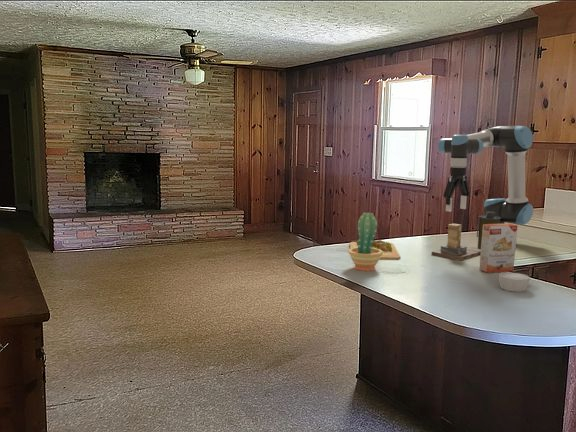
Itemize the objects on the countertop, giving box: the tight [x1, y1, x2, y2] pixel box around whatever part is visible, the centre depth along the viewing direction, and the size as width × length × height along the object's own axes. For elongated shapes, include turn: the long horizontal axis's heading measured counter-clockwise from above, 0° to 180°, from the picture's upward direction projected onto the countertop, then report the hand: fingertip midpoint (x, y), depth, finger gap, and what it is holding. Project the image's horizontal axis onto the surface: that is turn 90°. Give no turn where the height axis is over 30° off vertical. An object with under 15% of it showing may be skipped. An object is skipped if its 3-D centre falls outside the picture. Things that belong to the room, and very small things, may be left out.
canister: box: [476, 212, 501, 249], centre depth 278 cm, size 11×10×20 cm
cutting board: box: [349, 239, 401, 261], centre depth 274 cm, size 35×23×8 cm
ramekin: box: [498, 272, 531, 293], centre depth 210 cm, size 11×11×5 cm
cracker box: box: [478, 222, 518, 274], centre depth 236 cm, size 14×6×21 cm, turn 105°
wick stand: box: [431, 244, 481, 261], centre depth 270 cm, size 24×16×4 cm, turn 133°
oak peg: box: [446, 223, 462, 248], centre depth 265 cm, size 4×4×14 cm
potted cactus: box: [347, 212, 383, 272], centre depth 239 cm, size 15×15×25 cm
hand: (455, 210), depth 263 cm, fingers open, 13 cm apart
